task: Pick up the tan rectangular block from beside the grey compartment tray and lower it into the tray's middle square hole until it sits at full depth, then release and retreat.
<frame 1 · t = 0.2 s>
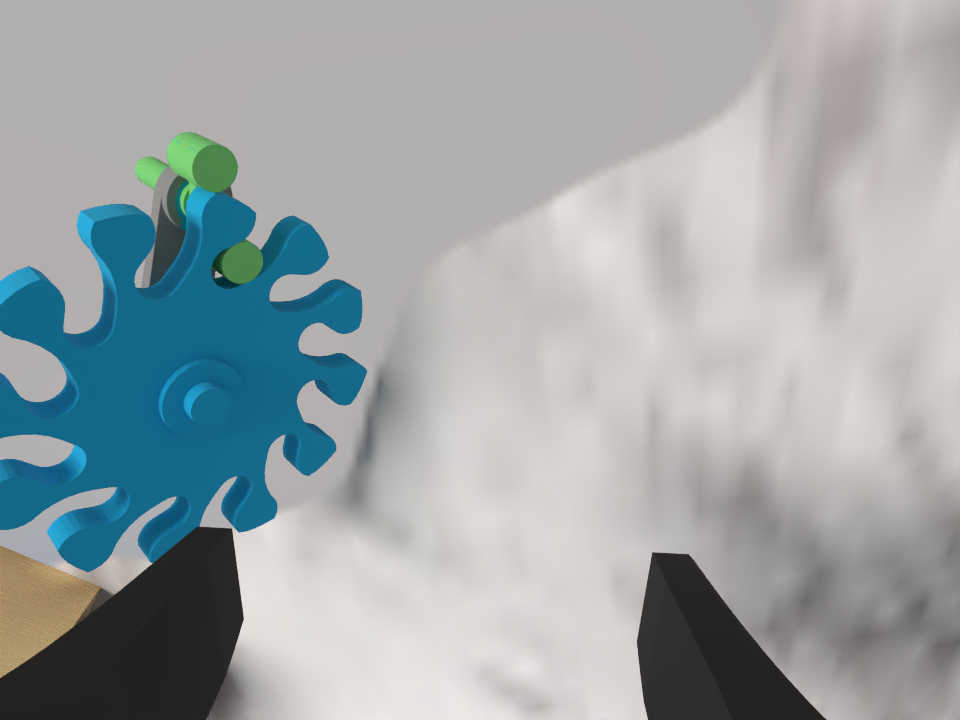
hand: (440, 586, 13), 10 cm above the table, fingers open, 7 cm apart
tan rectangular block: (31, 601, 27), on the table
gear: (244, 309, 22), on the table
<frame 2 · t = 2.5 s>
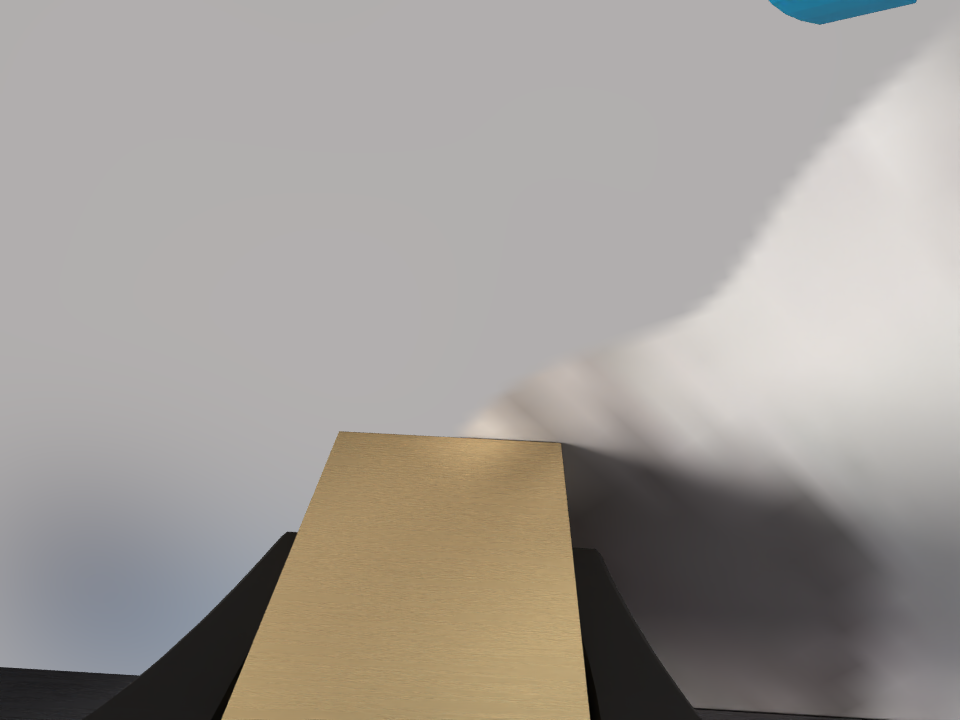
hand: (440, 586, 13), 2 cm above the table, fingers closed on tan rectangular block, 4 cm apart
tan rectangular block: (447, 526, 14), on the table, touching gripper
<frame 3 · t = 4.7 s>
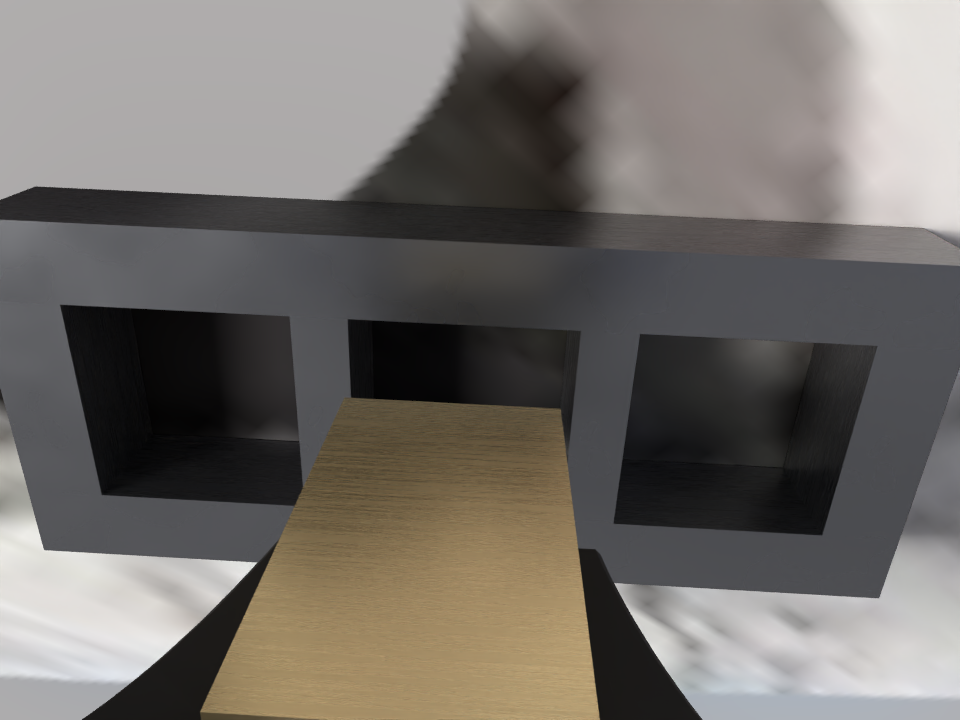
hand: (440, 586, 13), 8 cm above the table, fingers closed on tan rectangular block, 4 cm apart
grey compartment tray: (468, 370, 20), on the table
tan rectangular block: (449, 494, 15), point 6 cm above the table, touching gripper
when the fingers open (4 cm above the table, at t = 6.8 s): tan rectangular block drops 2 cm, resting in grey compartment tray.
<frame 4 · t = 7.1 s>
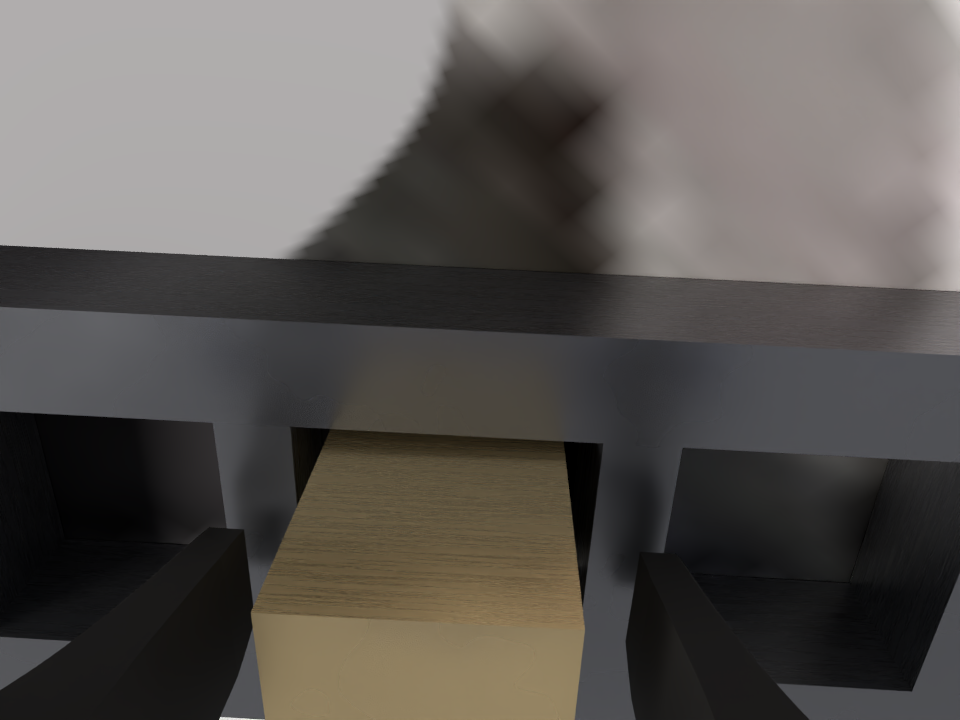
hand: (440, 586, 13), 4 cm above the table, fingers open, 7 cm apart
grey compartment tray: (455, 466, 16), on the table
tan rectangular block: (455, 450, 16), resting in grey compartment tray
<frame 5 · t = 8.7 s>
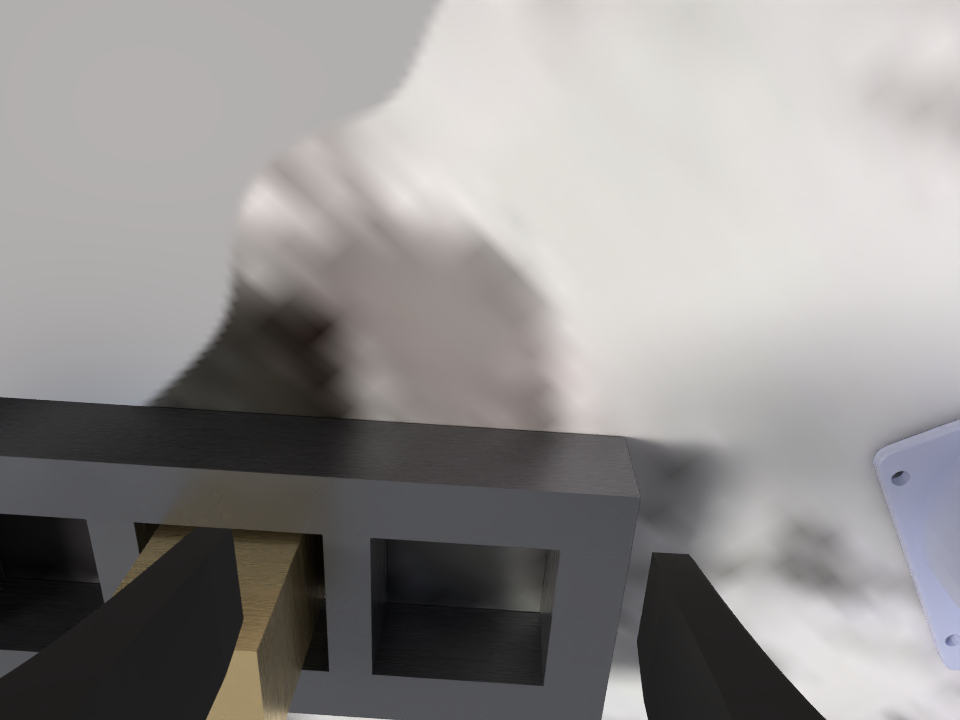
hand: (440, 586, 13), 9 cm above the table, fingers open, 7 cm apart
grey compartment tray: (266, 534, 24), on the table
tan rectangular block: (266, 524, 24), resting in grey compartment tray
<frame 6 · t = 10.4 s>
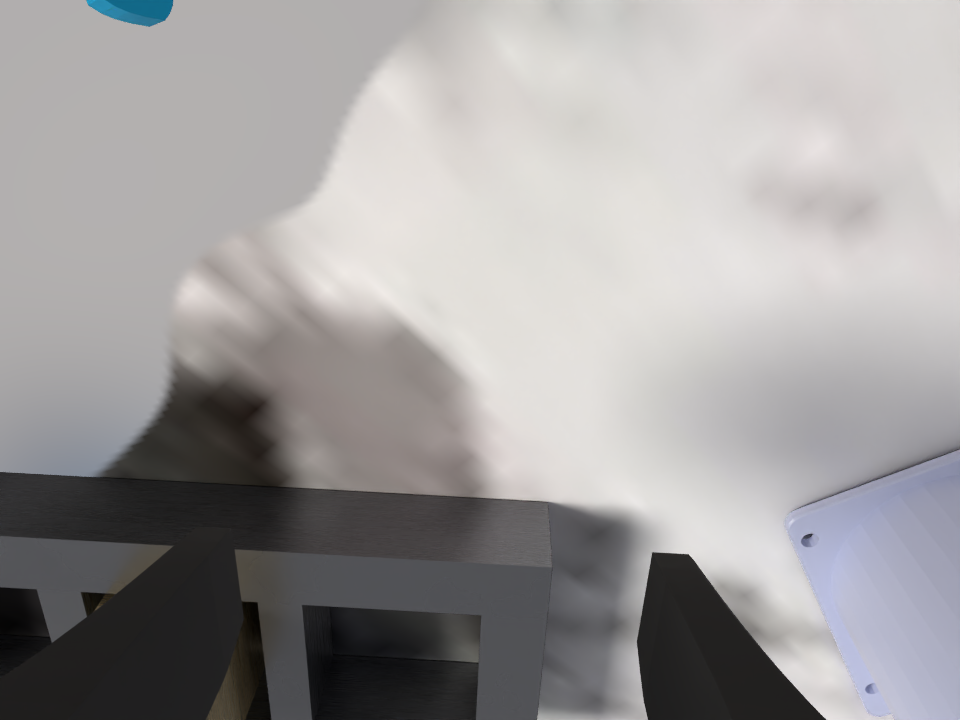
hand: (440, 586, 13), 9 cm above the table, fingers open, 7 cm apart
grey compartment tray: (216, 592, 26), on the table
tan rectangular block: (215, 583, 26), resting in grey compartment tray
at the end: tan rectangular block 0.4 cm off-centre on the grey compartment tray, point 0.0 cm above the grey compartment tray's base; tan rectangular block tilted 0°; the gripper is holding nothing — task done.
